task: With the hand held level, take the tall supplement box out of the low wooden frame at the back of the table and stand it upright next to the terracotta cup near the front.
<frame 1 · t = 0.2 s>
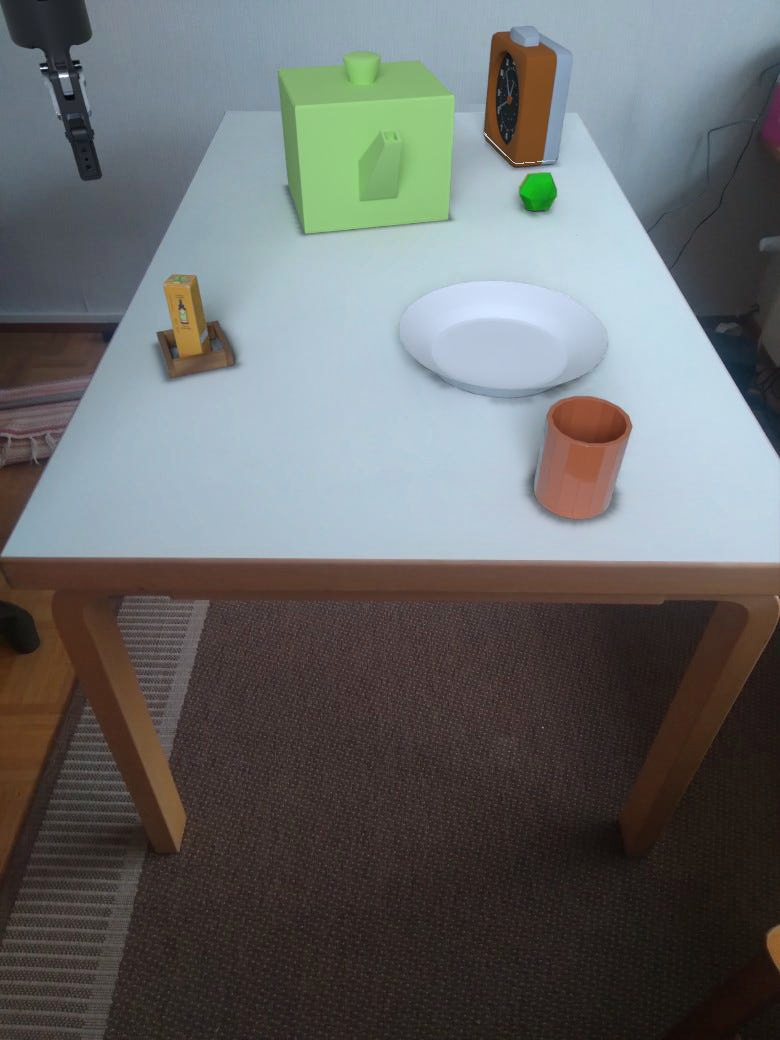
hand: (87, 165, 79), 21 cm above the table, tool pointing down, fingers open, 8 cm apart
green faceted polyhedron: (532, 207, 124), on the table
white plate: (499, 356, 91), on the table
wooden frame: (196, 355, 91), on the table
cup: (571, 492, 73), on the table
teapot: (366, 206, 124), on the table
supplement box: (196, 356, 91), resting in wooden frame
alarm clock: (518, 152, 143), on the table
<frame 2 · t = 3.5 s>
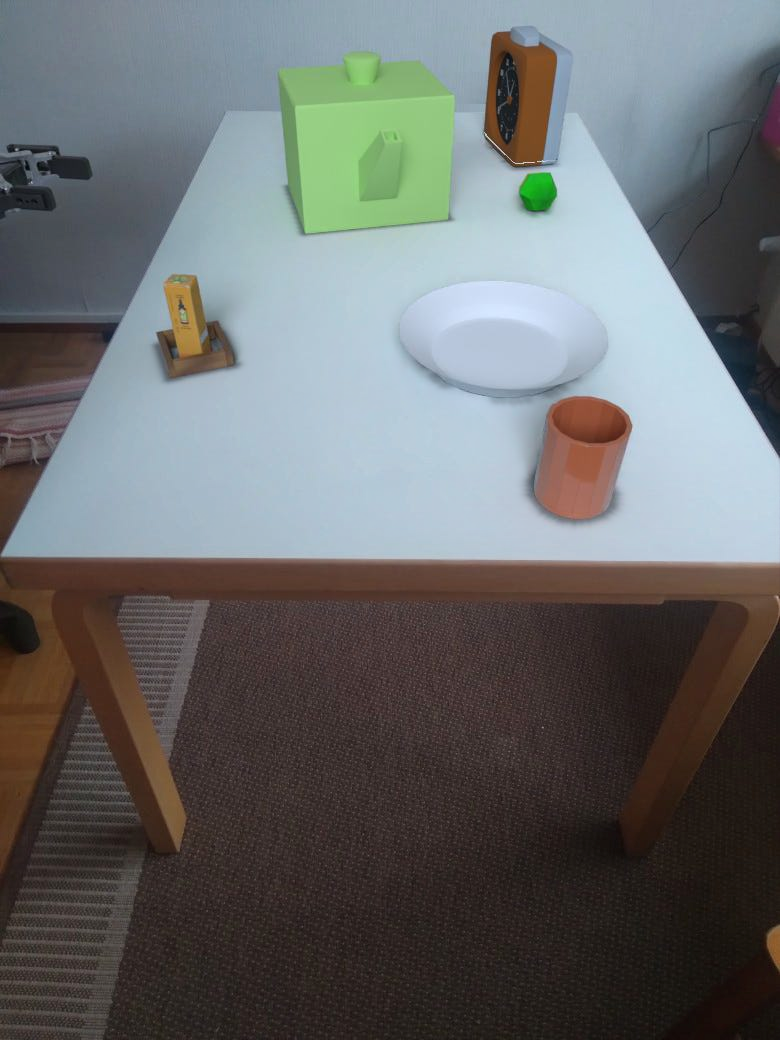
hand: (71, 183, 78), 20 cm above the table, tool horizontal, fingers open, 8 cm apart
nothing on the table moved.
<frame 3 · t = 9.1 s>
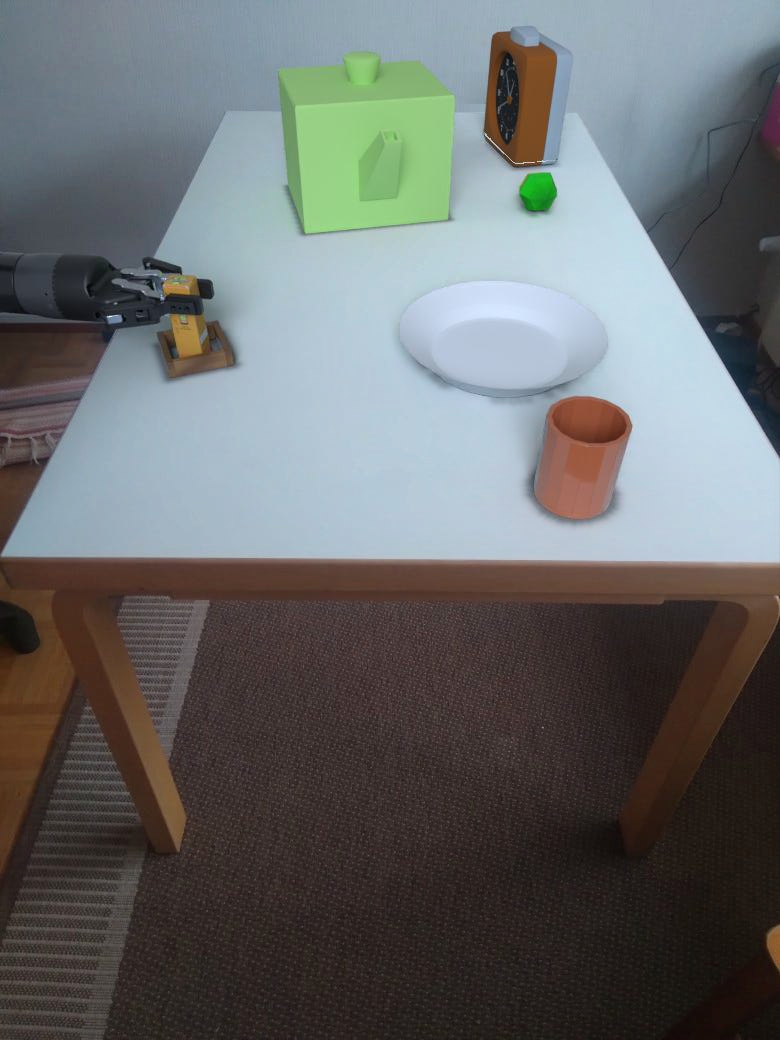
hand: (206, 297, 85), 8 cm above the table, tool horizontal, fingers closed on supplement box, 3 cm apart
supplement box: (196, 356, 91), resting in wooden frame, touching gripper
everything else where it was.
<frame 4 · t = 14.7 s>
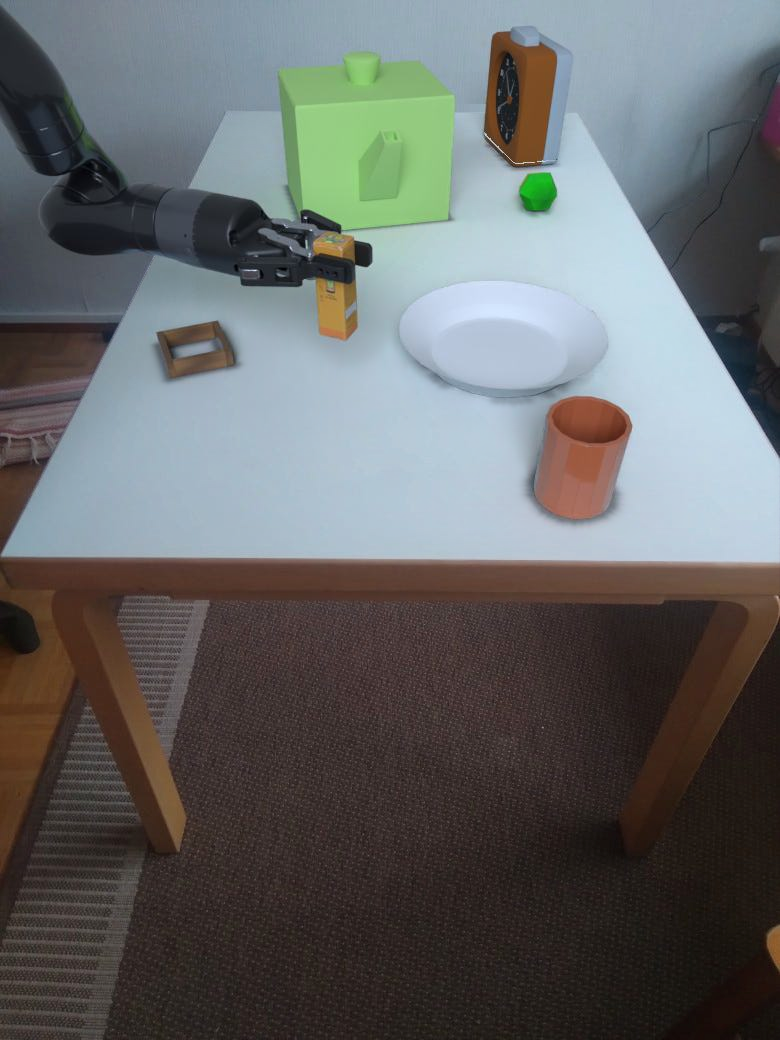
hand: (361, 264, 70), 17 cm above the table, tool horizontal, fingers closed on supplement box, 3 cm apart
supplement box: (339, 332, 77), point 9 cm above the table, touching gripper
everything else where it was.
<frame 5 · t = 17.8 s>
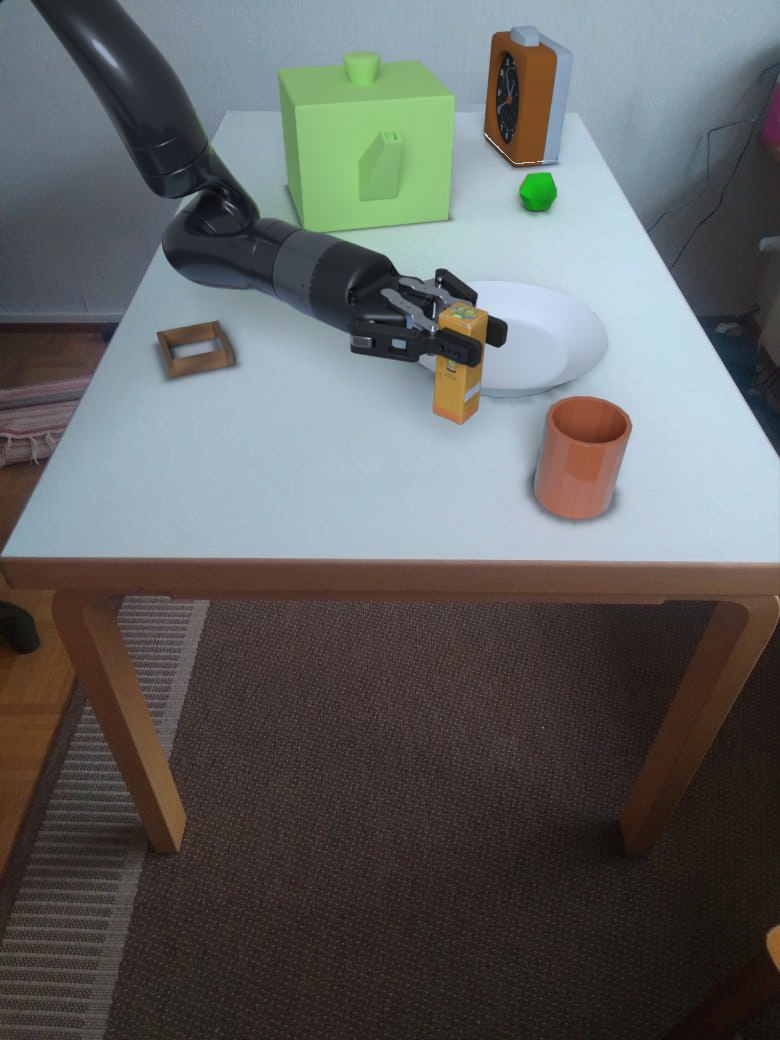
hand: (491, 345, 60), 18 cm above the table, tool horizontal, fingers closed on supplement box, 3 cm apart
supplement box: (456, 412, 67), point 9 cm above the table, touching gripper
everything else where it was.
when the fingers open (8 cm above the table, at t = 20.7 s): supplement box stays where it is, on the table.
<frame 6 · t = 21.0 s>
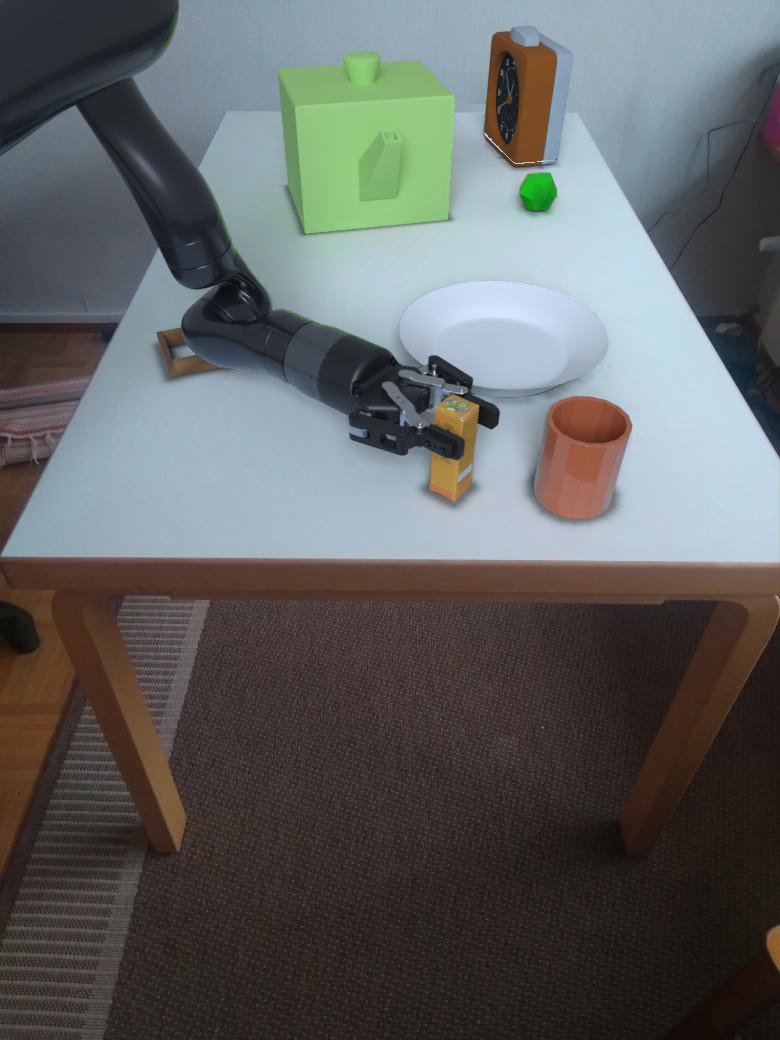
hand: (479, 434, 67), 8 cm above the table, tool horizontal, fingers open, 5 cm apart
supplement box: (450, 489, 74), on the table
everything else where it was.
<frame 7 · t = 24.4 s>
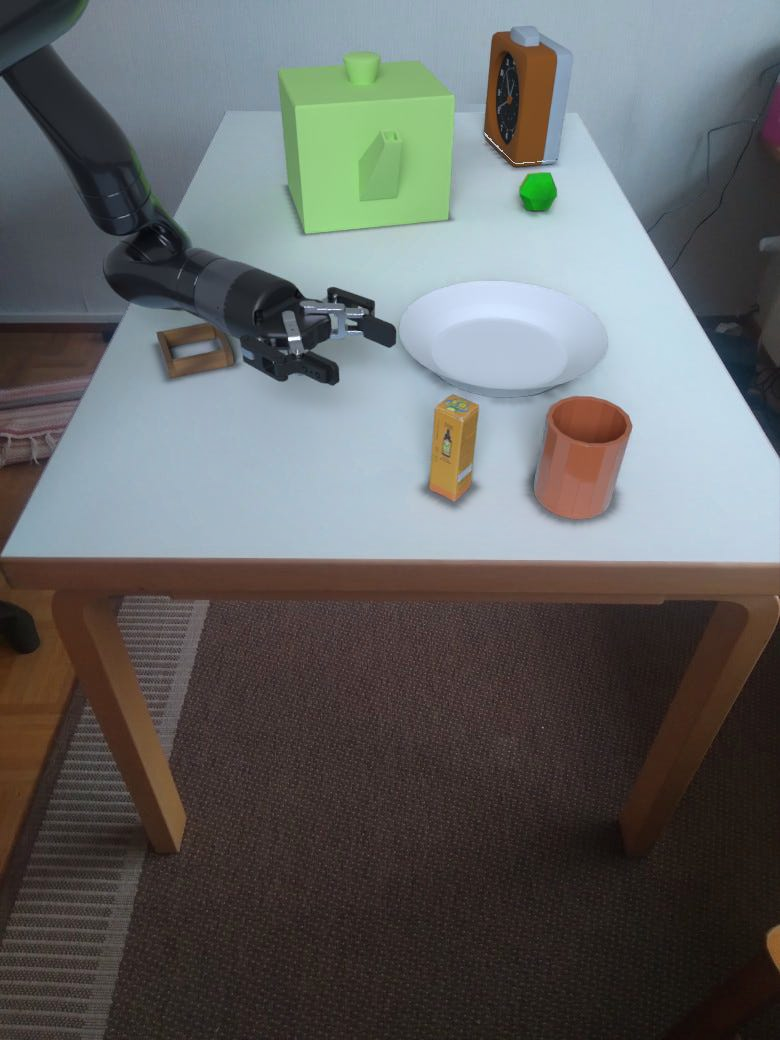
hand: (366, 356, 70), 11 cm above the table, tool horizontal, fingers open, 8 cm apart
nothing on the table moved.
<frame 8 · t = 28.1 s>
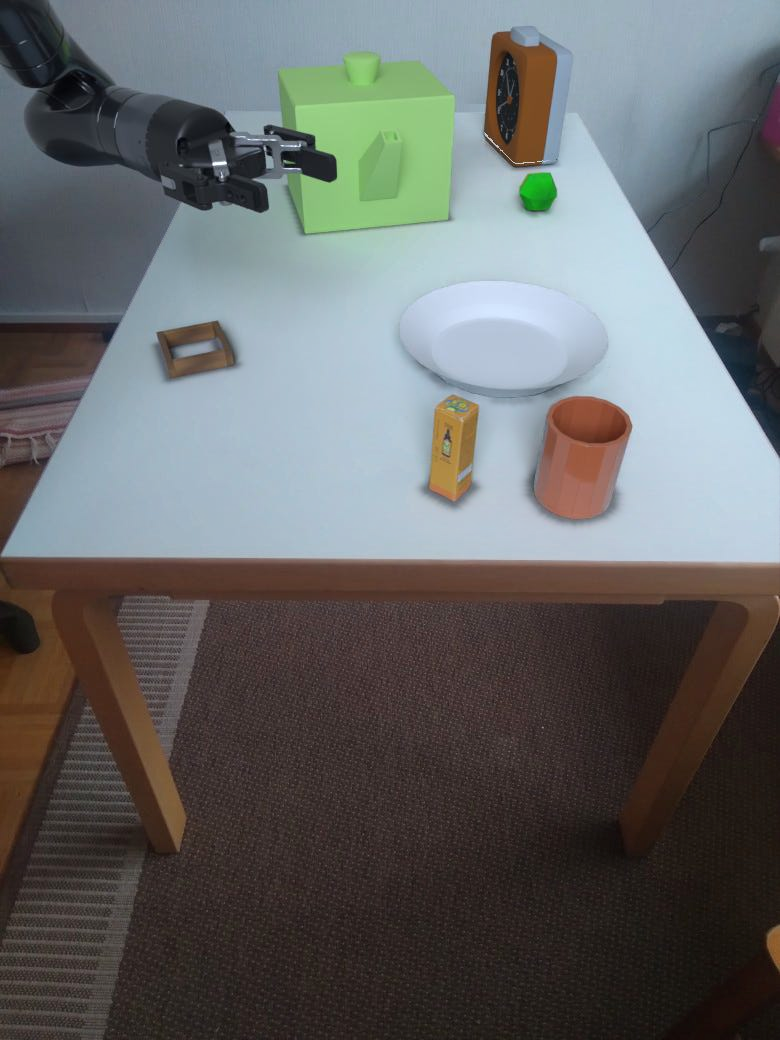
hand: (301, 184, 62), 26 cm above the table, tool horizontal, fingers open, 8 cm apart
nothing on the table moved.
at the end: supplement box 12.1 cm from the cup (horizontally); supplement box moved 38.8 cm from its start; supplement box tilted 0° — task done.
